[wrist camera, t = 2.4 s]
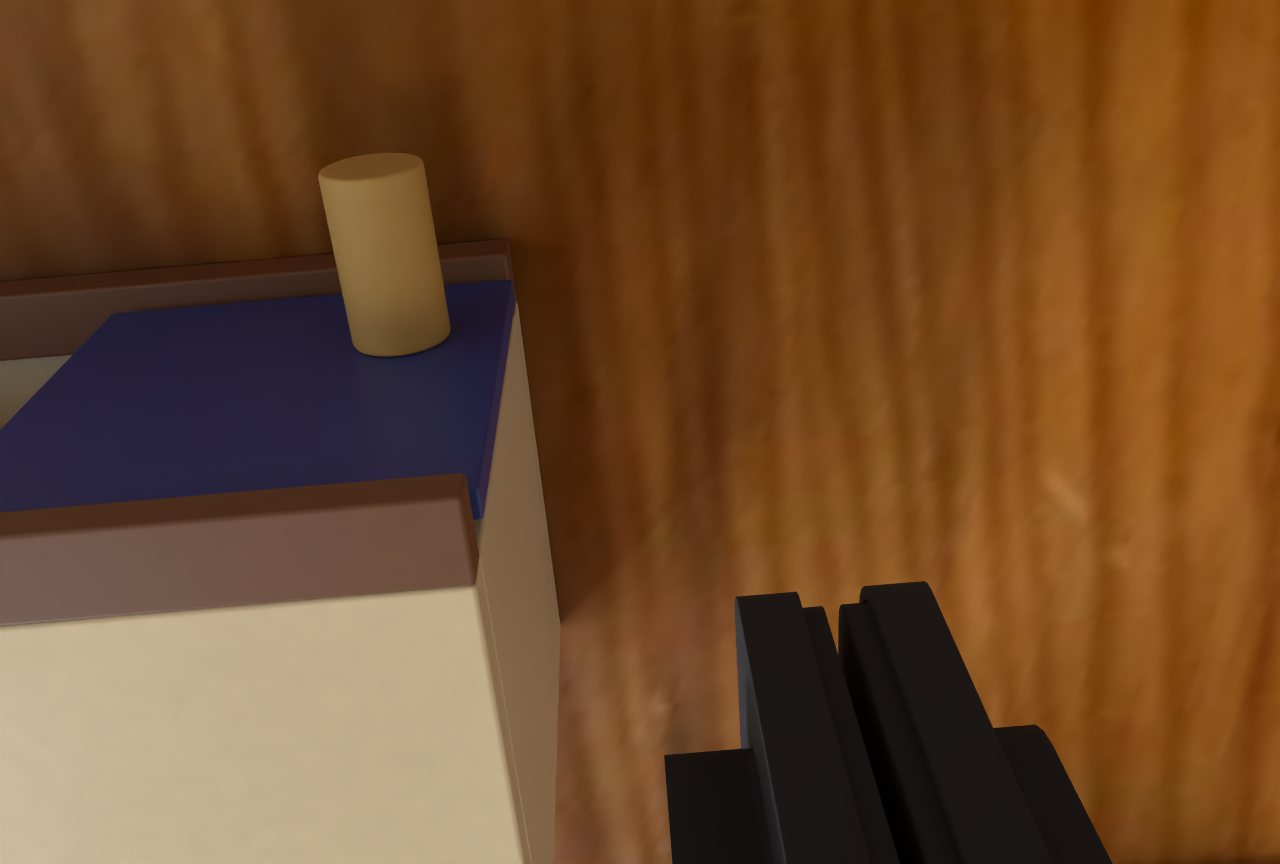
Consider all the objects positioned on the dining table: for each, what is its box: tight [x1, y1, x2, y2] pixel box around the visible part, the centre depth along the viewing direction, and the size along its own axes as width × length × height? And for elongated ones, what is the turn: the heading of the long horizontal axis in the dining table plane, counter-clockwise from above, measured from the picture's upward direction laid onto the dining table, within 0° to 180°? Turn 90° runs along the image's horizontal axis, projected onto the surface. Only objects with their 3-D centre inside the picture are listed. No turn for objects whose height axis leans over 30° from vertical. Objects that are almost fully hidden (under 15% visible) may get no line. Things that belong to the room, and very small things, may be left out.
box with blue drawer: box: [0, 239, 561, 864], centre depth 25 cm, size 12×18×12 cm, turn 94°
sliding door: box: [0, 153, 515, 520], centre depth 21 cm, size 4×9×9 cm, turn 94°
